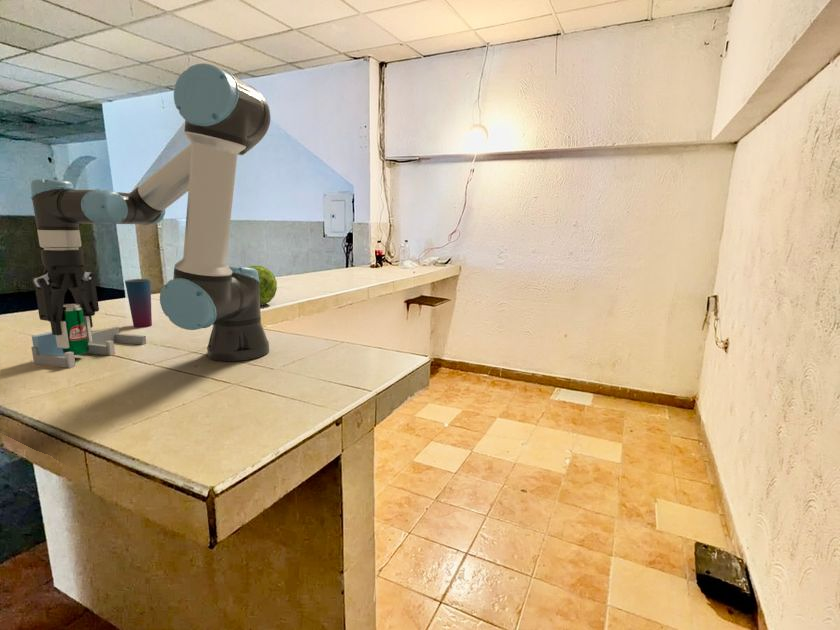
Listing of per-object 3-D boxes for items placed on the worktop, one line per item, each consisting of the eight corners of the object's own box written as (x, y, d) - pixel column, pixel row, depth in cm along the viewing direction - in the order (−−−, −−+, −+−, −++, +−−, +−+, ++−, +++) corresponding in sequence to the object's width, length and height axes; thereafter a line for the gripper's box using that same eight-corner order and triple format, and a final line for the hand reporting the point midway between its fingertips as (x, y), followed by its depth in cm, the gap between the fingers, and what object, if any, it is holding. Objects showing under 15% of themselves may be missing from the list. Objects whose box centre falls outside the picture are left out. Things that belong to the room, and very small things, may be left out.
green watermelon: (250, 313, 191) (271, 284, 196) (265, 313, 172) (288, 281, 177) (217, 291, 183) (240, 261, 188) (229, 288, 164) (255, 256, 169)
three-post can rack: (148, 343, 119) (145, 321, 118) (70, 367, 99) (66, 340, 97) (116, 340, 122) (113, 318, 120) (33, 363, 101) (29, 336, 100)
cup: (159, 325, 140) (154, 280, 136) (136, 329, 134) (131, 282, 131) (148, 322, 143) (143, 278, 140) (126, 326, 137) (120, 280, 134)
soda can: (74, 357, 102) (67, 307, 99) (57, 355, 103) (50, 306, 100) (94, 351, 107) (88, 304, 104) (78, 349, 108) (71, 302, 105)
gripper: (86, 246, 109) (97, 334, 114) (4, 249, 92) (22, 353, 97) (110, 247, 107) (120, 336, 112) (31, 251, 90) (48, 356, 95)
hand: (75, 344), depth 104 cm, fingers closed on soda can, 5 cm apart
